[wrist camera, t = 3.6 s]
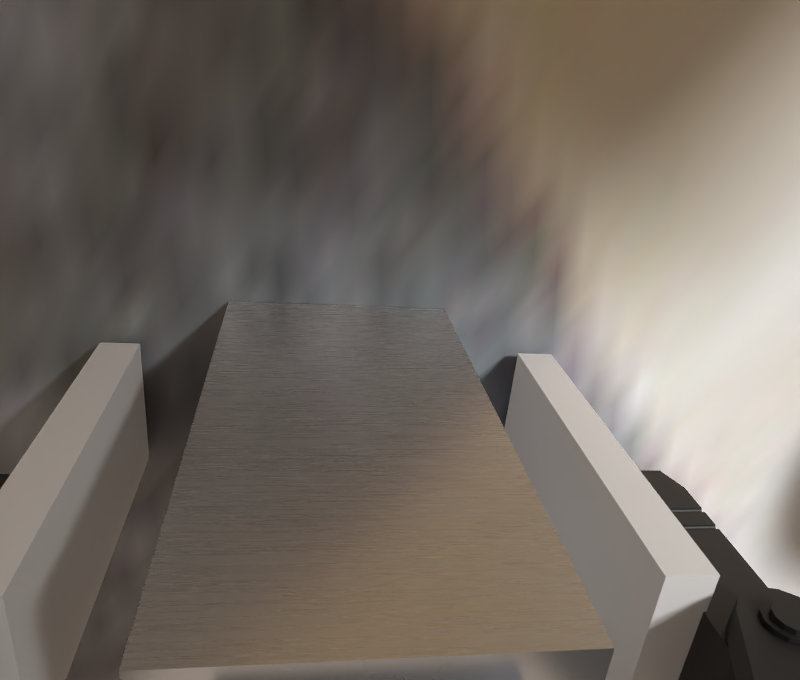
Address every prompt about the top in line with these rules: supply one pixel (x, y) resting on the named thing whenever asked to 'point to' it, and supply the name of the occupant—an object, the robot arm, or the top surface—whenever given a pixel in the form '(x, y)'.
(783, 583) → the top surface
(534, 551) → the plug
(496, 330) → the top surface
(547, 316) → the top surface
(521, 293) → the top surface
